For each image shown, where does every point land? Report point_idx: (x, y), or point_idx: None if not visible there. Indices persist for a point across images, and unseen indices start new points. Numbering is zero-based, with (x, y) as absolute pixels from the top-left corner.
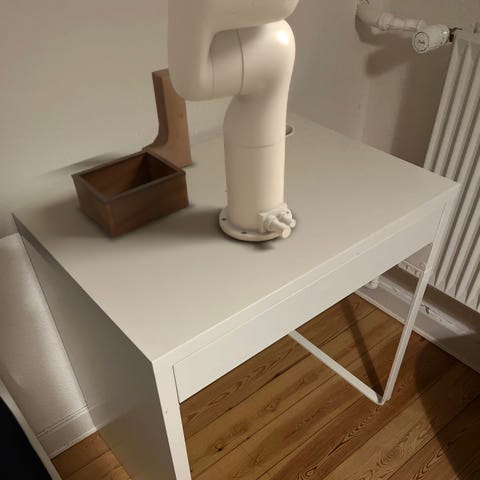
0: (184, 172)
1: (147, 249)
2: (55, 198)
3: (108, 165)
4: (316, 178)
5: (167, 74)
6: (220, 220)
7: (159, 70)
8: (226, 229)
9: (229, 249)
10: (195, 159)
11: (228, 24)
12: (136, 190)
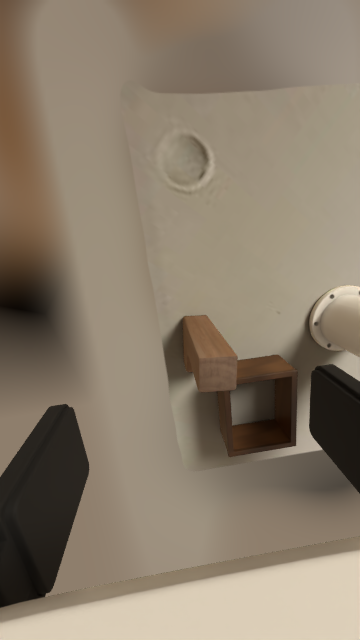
0: (297, 371)
1: (309, 405)
2: (188, 443)
3: (231, 424)
4: (323, 213)
5: (229, 378)
6: (328, 348)
7: (203, 381)
8: (341, 350)
9: (353, 355)
10: (196, 305)
11: None
12: (296, 419)
